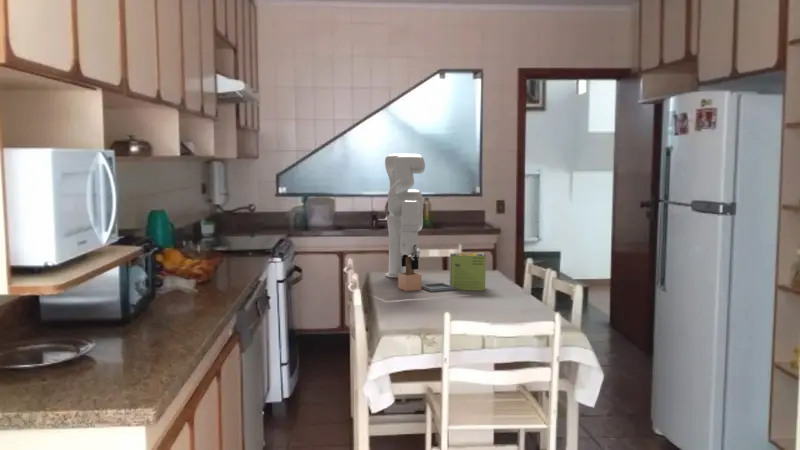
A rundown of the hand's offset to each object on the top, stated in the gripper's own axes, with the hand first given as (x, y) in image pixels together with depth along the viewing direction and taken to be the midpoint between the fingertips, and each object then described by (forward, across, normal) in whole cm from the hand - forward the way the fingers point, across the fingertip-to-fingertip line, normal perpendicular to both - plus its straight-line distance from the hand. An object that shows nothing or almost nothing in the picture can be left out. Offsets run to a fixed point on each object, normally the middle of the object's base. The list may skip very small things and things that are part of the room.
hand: (409, 267), depth 318 cm
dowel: (+9, 0, 0) cm, 9 cm away
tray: (+10, +5, +11) cm, 16 cm away
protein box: (+10, +5, +26) cm, 29 cm away
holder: (+10, 0, 0) cm, 10 cm away
